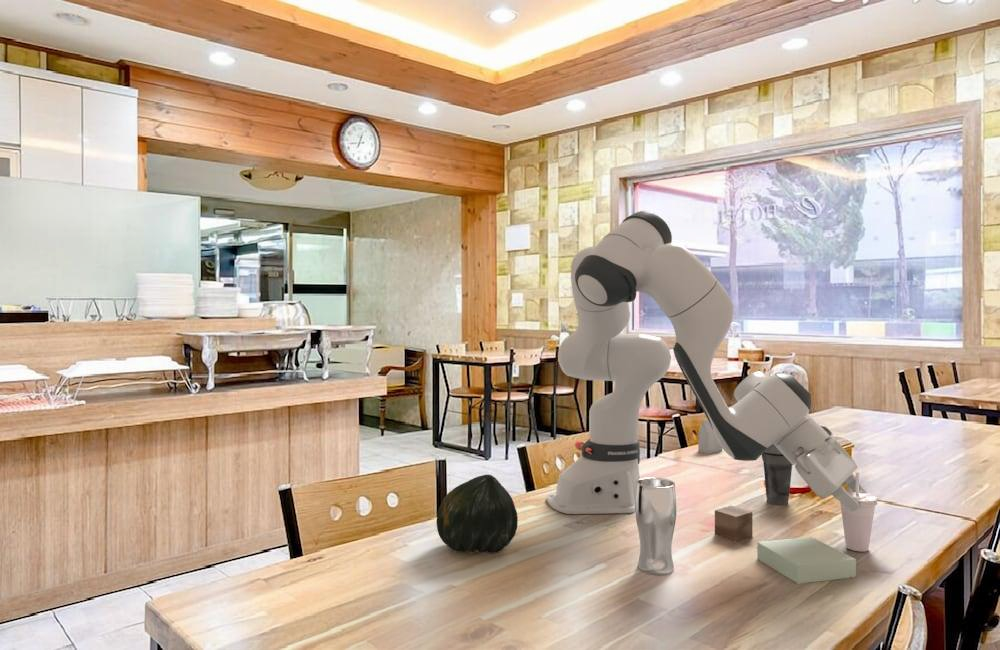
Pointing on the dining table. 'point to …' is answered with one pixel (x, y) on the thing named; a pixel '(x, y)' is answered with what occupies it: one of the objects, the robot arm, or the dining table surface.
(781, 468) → the beverage cup
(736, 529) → the brick
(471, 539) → the squash
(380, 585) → the dining table surface
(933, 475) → the dining table surface
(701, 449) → the grey tapered block
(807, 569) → the pedestal
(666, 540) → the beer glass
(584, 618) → the dining table surface
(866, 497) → the smoothie
